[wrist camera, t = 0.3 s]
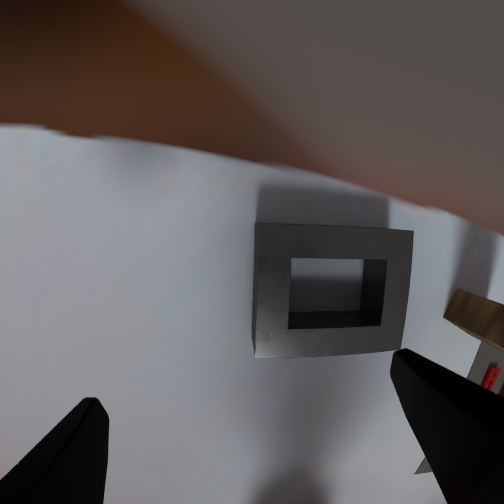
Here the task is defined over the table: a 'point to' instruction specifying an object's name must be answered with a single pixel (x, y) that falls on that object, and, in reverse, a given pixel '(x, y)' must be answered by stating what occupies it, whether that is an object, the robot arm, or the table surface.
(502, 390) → the gear board
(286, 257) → the grey block holder
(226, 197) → the table surface
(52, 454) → the robot arm
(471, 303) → the brown wooden block
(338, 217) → the table surface
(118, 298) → the table surface
